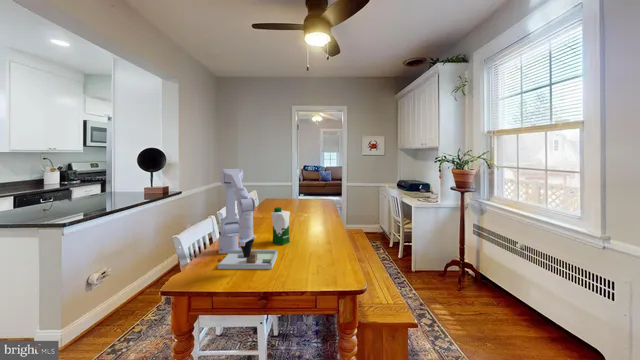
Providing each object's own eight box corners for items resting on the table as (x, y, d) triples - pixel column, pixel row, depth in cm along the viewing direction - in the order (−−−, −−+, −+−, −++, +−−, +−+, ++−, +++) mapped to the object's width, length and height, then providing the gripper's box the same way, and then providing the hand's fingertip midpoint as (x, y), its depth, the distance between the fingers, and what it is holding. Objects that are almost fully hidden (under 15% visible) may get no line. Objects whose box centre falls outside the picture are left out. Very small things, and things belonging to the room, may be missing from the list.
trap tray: (217, 268, 124) (217, 262, 124) (229, 255, 140) (229, 249, 140) (271, 269, 124) (271, 262, 124) (277, 255, 140) (277, 249, 140)
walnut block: (246, 263, 126) (246, 254, 126) (248, 259, 130) (248, 251, 130) (255, 263, 126) (255, 254, 126) (257, 259, 130) (257, 251, 130)
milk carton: (280, 239, 166) (279, 206, 164) (292, 242, 161) (291, 207, 159) (270, 243, 158) (269, 208, 156) (282, 246, 154) (282, 210, 152)
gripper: (251, 231, 112) (252, 263, 114) (259, 222, 127) (259, 251, 128) (233, 231, 112) (234, 263, 114) (243, 222, 127) (244, 251, 128)
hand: (247, 256), depth 121 cm, fingers closed
